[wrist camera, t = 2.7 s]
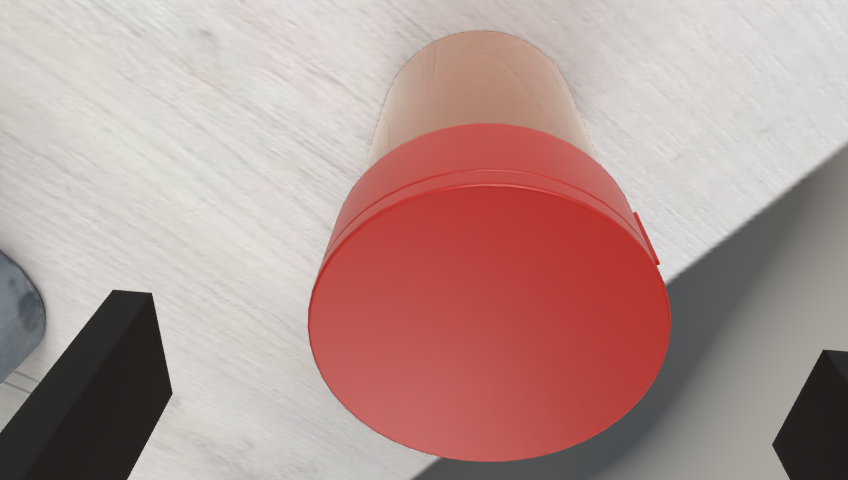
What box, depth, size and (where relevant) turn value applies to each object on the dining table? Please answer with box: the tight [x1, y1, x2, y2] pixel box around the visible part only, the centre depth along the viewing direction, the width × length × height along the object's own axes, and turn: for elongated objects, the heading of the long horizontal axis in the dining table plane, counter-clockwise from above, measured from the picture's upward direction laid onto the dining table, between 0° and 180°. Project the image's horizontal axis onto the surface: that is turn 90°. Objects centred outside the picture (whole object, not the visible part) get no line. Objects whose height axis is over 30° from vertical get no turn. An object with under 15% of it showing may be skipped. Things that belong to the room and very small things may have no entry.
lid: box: [308, 123, 671, 462], centre depth 15 cm, size 8×8×3 cm
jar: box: [361, 31, 602, 177], centre depth 19 cm, size 7×7×12 cm
